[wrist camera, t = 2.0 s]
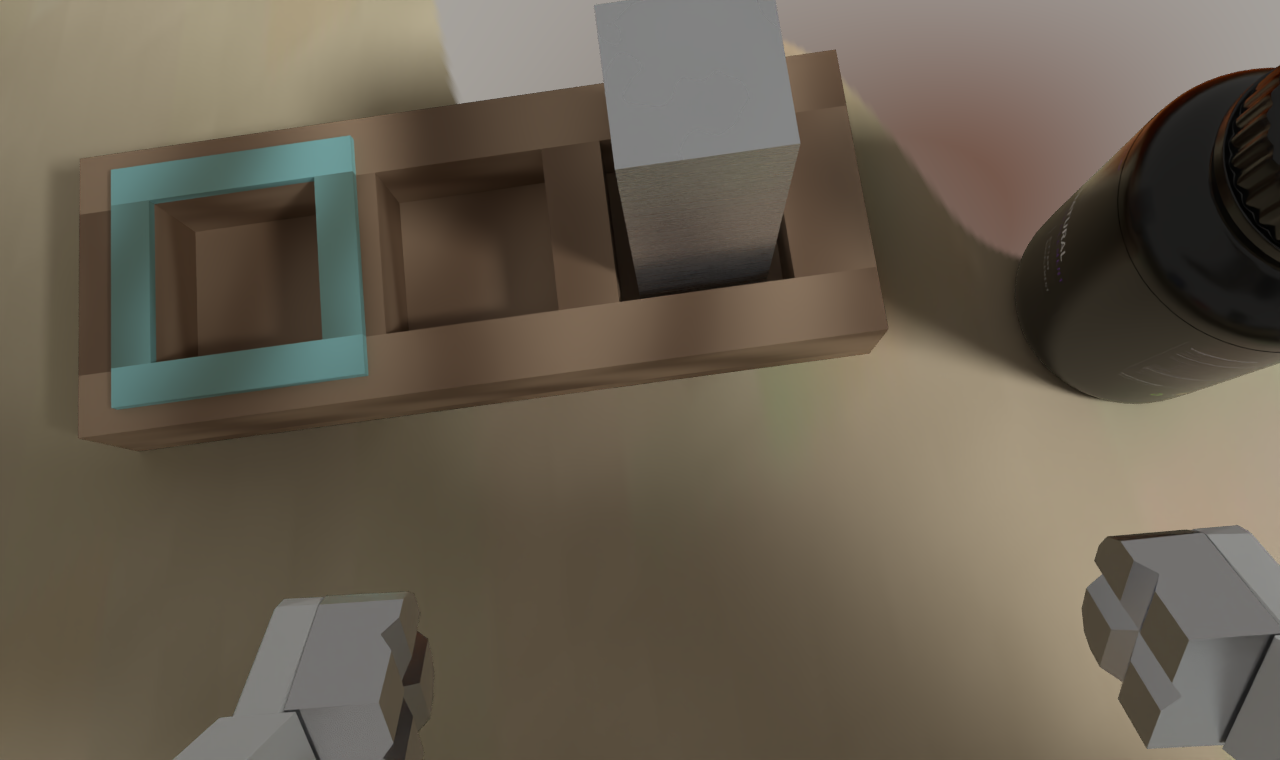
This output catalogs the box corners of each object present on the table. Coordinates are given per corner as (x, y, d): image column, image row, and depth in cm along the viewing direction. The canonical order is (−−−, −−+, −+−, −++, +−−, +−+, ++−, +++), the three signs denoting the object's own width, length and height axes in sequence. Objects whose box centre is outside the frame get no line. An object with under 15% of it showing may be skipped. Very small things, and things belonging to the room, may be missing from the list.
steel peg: (746, 171, 30) (771, -22, 20) (765, 286, 29) (800, 143, 20) (626, 188, 30) (594, 4, 21) (641, 303, 29) (614, 169, 20)
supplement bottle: (986, 221, 30) (1172, -5, 18) (1195, 188, 30) (1520, -61, 18) (1034, 426, 29) (1271, 324, 17) (1255, 393, 28) (1651, 267, 17)
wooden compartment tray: (822, 98, 31) (837, 44, 28) (869, 353, 29) (890, 326, 26) (136, 196, 32) (73, 154, 29) (138, 451, 30) (71, 436, 27)
